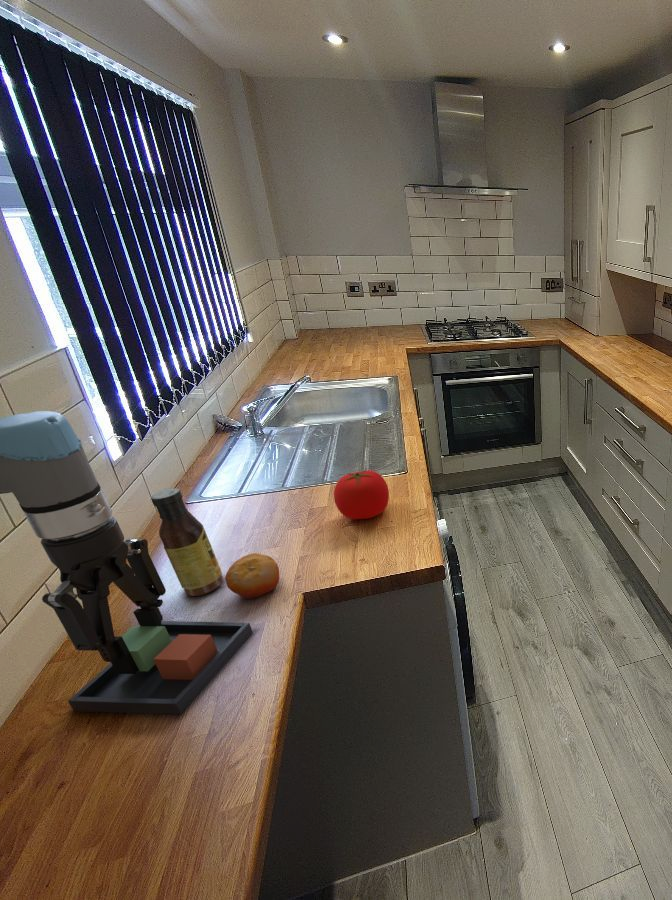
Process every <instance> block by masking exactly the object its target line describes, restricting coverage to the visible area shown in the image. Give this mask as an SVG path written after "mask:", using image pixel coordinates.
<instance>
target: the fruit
mask: <svg viewBox="0 0 672 900" xmlns="http://www.w3.org/2000/svg"><path fill="white" fill-rule="evenodd" d="M224 580H225V584H226V587H227V588H228V589H229V591H231V592H232V593H234V594H236V595H238V596H240V597H242V598H244V599H246V600H252V599H256V598H258V597H261V596H263V595H264V594H267V593H269V592H271V591H272V590H274V589H275V588H276V587H277V586H278V584H279V582H280V567H279V565H278V563H277V562H276V561H275V559H274V558H272V556H270V555H267V554H261V553H256V552H254V553H253V552H252V553H249V554H246V555H243V556H242V557H240V558H239V559H237V560H236V561H234V562H233V564H231V565H230V566H229V567H228V569H227V571H226V574H225V578H224Z"/></svg>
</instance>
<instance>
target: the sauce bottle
mask: <svg viewBox="0 0 672 900" xmlns="http://www.w3.org/2000/svg"><path fill="white" fill-rule="evenodd" d="M150 500H151V502H152V505H153V506H154V507H155V508H156V510H157V513H158V515H159V519H161V523H160V526H159V528H158V535H159V538H160V540H161V543H162V545H163V549H164V551H165V553H166V556H167V559H168V560H169V562H170V564H171V566H172V569H173V571H174V573H175V575H176V578H177V580H178V582H179V584H180V587H181V588H182V589H183V590H184V593H185V594H186V595H187V596H191V597H197V596H202V595H206V594H208V593H211V592H212V591H214V590H217V589H219V587H221V585H222V583H223V581H224V577H223V575H222V572H223V571H222V569H221V566H220V565H219V562H218V559H217V556H216V553H215V552H214V550H213V546H212V543H211V541H210V540H209V537H208V535H207V531H206V529H205V528H204V525H203V524H202V523H201V521H199V520H198V519H197V517H195V516H194V515H193V514H192V513H191V512H190V511H189V510H188V508H187V507H186V505H185V502H184V500H183V494H182V492H181V490H180V489H179V488H176V487H175V488H173V487H172V488H168V489H167V488H166V489H161V490H159V491H157V492H155V493H153V494H152V495H151V497H150Z"/></svg>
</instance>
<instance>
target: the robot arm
mask: <svg viewBox="0 0 672 900" xmlns="http://www.w3.org/2000/svg"><path fill="white" fill-rule="evenodd" d="M90 464H91V463H90V462H89V460H88V457H87V454H86V452H85V449H84V447H83V443H82V440H81V438H79V437H78V435H77V433H76V432H75V430H74V429H73V427H72V425H71V424H70V422H69V420H68V419H67V417H66V416H64V415H63V414H62V413H59V412H56V411H52V410H51V411H49V410H43V411H42V410H40V411H32V412H31V411H30V412H26V413H16V414H12V415H8V416H5V417H1V418H0V495H2V494H10V493H12V494H13V496H14V497H15V500H16V501H17V502H18V505H19V507H20V509H21V510H22V512H23V513H24V515H25V518H26V519H27V521H28V524H29V525H30V527H31V529H32V531H33V533H34V535H35V536H36V537H37V538H39V539H40V544H41V546H42V548H43V550H44V552H45V553H46V555H47V557H48V559H49V560H50V562H51V563H52V564H53V565H54V566H55V567H56V568H58V570H59V572H60V573H59V575H60V576H59V577H60V578H59V580H60V584H59V585H58V586H57V588H56V589H55V590H54V591H53V592H47V593H45V594H43V596H42V597H41V600H42V602H43V603H44V604H45V605H47V606H49V607H50V608H52V609H53V611H54V612H55V614H56V616H57V618H58V619H59V622H60V623H61V625H62V627H63V628H64V630H65V632H66V635H67V636H68V638H69V639H70V641H71V643H72V645H73V647H74V648H75V650H76V651H85V652H86V651H89V652H91V651H92V652H96V651H98V653H99V655H100V656H101V659H102V660H103V661H104V662H106V663H112V665H113V667H114V669H115V670H116V672H117V674H136V673H137V672H138V671H139V669H138V667H137V665H136V663H135V661H134V659H133V657H132V656H131V654H130V652H129V649H128V647H127V645H126V644H125V642H124V640H123V638H122V636H123V635H119V636H117V635H115V631H114V627H113V619H112V615H111V610H110V605H109V599H108V597H109V596H110V595H111V592H110V586H111V584H112V583H113V584H114V585H115V586H116V588H118V589H119V590H120V591H121V592H122V593H123V594H124V595H125V596H126V597H127V598H128V599H129V600H130V601H131V602H132V603H133V604H134V605H135V606H136V607H139V608H136V609H134V611H133V612H132V613H133V615H134V617H135V619H136V621H137V623H138V626H162V624H161V621H164V620H163V619H164V618H163V614H162V612H161V611H160V608H161V606H162V605H163V603H164V601H163V599H160V597H161V596H164V595H165V594H166V591H167V589H166V587H165V585H164V583H163V581H162V578H161V577H160V574H159V572H158V570H157V568H156V566H155V564H154V562H153V560H152V558H151V555H150V553H149V543H148V540H147V539H145V538H127V539H125V535H124V533H123V531H122V528H121V527H120V525H119V522H118V520H117V518H116V517H114V516H112V515H113V510H112V507H111V506H110V503H109V502H108V500H107V497H106V495H105V493H104V491H103V489H102V487H101V485H100V483H99V482H98V480H97V478H96V475H95V473H94V471H93V469H92V467H91V465H90ZM127 562H128V563H127ZM74 589H75V590H76V591H75V592H76V593H75V592H74ZM77 598H78V599H79V600H81V602H80V601H78V600H77Z"/></svg>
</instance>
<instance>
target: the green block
mask: <svg viewBox="0 0 672 900" xmlns="http://www.w3.org/2000/svg"><path fill="white" fill-rule="evenodd" d="M121 636H122V638H123V640H124V642H125V644H126V645H127V647H128V649H129V652H130V654H131V656H132V657H133V659H134V661H135V663H136V665H137V667H138V669H139V671H149V670H150V669H151V668H152V667H153V666H154V665H155V662H154V660H153V659H154V658H155V657H156V656H157V655H158V654H159V653H160V652H161V651H163V650H164V649H165V648H166V647H167V646H168V645H169V644H170V643H171V642H172V640H171V638H170V636H169V634H168V632H167V630H166V628H165V626H140V625H133V626H132V627H130V629H128V630H127V631H126V632H125V633H124V634H122V635H121Z"/></svg>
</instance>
